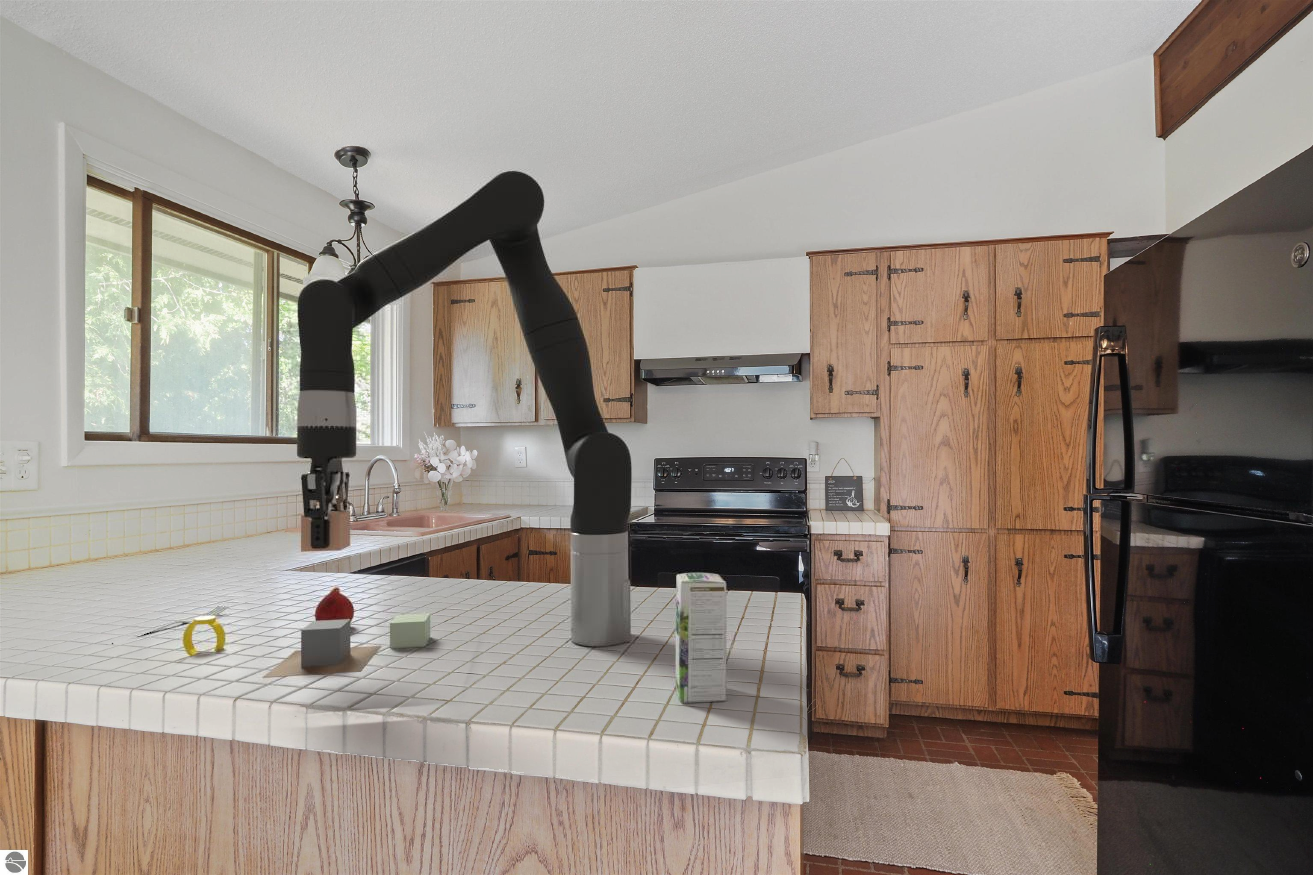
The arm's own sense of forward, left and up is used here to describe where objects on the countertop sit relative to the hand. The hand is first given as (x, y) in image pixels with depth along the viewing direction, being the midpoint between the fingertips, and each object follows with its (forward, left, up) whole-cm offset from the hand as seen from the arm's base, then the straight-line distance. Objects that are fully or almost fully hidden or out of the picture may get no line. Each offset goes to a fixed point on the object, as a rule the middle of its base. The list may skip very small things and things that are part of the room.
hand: (326, 544), depth 94 cm
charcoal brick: (0, 0, -16) cm, 16 cm away
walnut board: (0, 0, -17) cm, 17 cm away
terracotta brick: (0, 0, 0) cm, 0 cm away
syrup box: (-49, +20, -18) cm, 56 cm away
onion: (+4, -18, -18) cm, 26 cm away
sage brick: (-10, -7, -17) cm, 21 cm away
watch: (+20, -10, -18) cm, 28 cm away
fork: (+35, -29, -18) cm, 49 cm away
